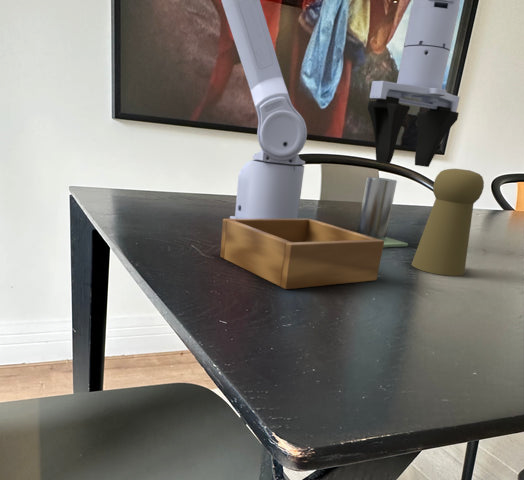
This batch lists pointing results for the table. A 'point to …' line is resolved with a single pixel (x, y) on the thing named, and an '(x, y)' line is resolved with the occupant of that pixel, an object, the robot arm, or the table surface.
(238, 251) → the wooden box
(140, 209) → the table surface
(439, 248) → the cork
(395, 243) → the felt mat
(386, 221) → the metal tube
